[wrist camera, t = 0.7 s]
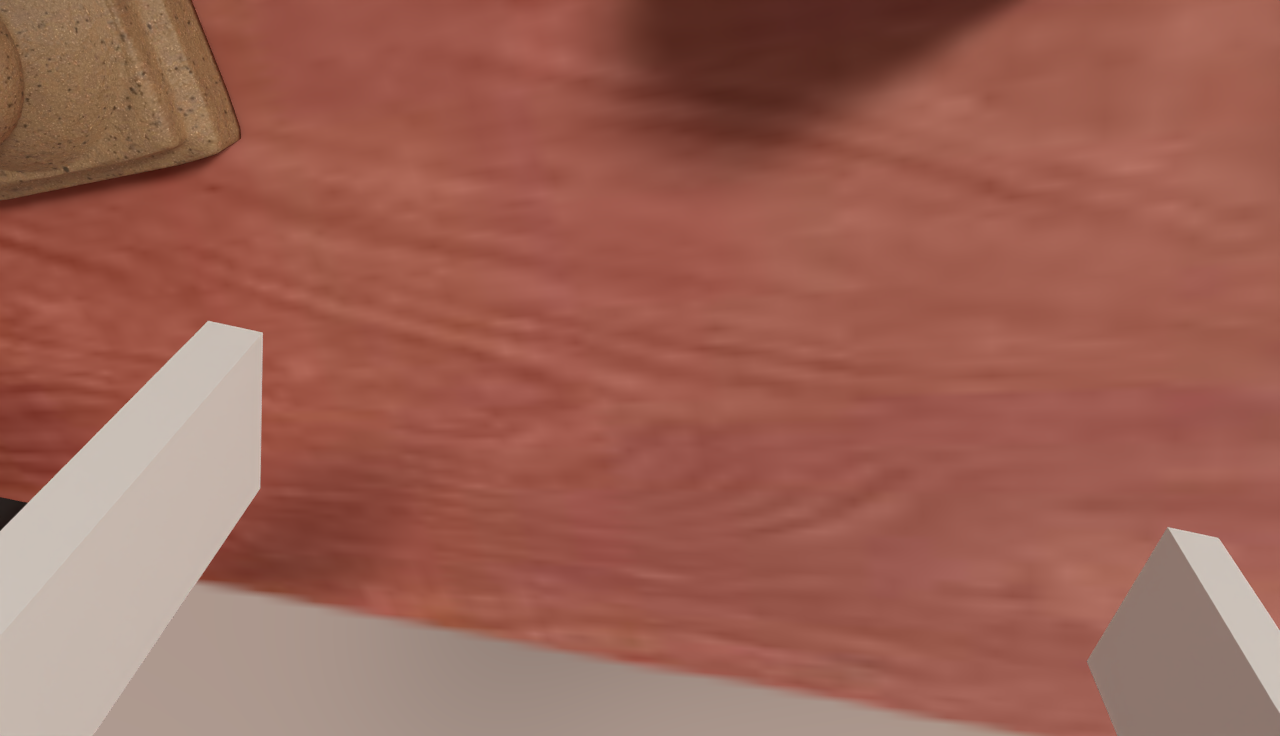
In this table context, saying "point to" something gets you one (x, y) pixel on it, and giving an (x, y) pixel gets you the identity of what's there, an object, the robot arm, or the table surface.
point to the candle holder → (105, 92)
